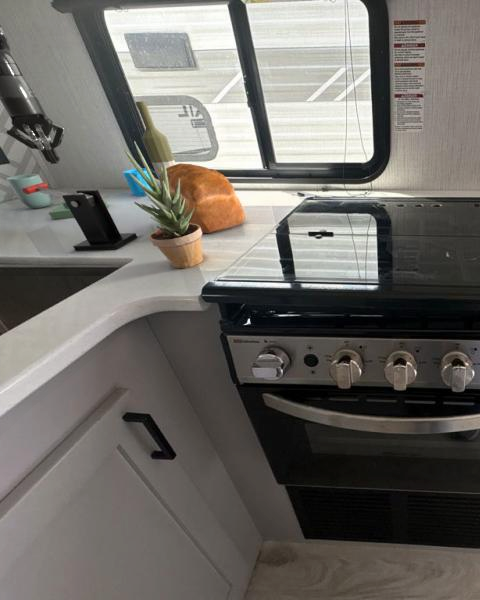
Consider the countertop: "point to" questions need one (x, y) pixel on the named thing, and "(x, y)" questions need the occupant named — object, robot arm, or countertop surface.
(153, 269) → the countertop surface
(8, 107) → the robot arm
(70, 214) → the button block
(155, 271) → the countertop surface
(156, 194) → the potted plant
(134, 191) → the mug
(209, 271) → the countertop surface
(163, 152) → the bottle
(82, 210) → the bracket
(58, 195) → the lever
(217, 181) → the bread
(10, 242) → the countertop surface
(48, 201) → the cup
